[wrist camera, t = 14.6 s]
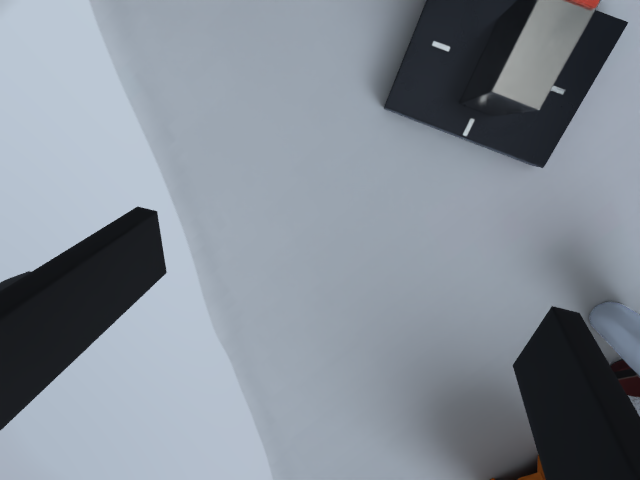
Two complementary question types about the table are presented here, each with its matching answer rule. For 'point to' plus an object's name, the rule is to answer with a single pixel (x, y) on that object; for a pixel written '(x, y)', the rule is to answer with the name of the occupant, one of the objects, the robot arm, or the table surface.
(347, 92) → the table surface
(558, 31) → the red-capped silver block
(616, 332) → the milkshake
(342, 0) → the table surface
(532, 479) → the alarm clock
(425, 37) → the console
